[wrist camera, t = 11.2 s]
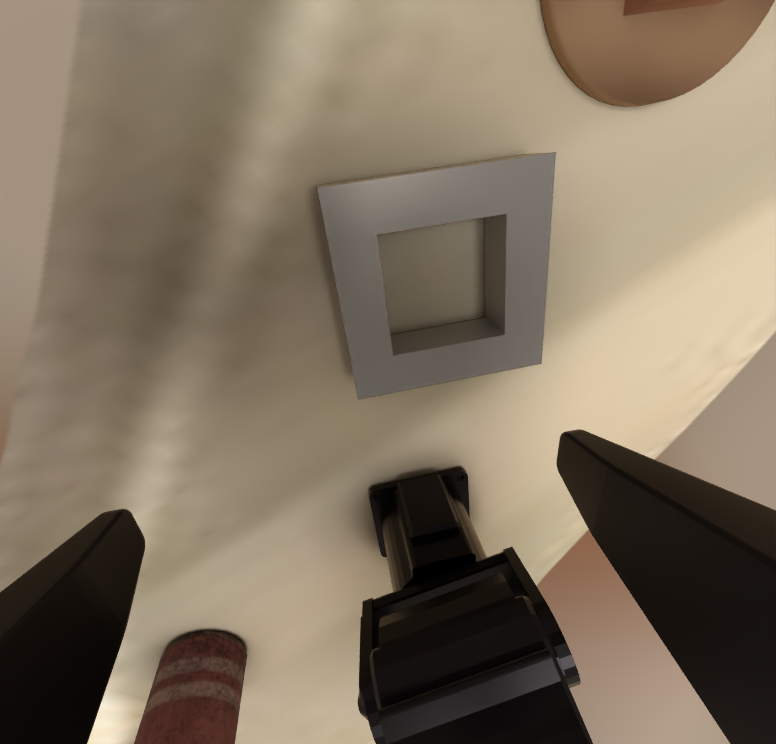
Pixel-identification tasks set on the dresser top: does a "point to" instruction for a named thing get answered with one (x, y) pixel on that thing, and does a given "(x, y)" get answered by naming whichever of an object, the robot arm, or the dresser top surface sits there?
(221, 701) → the can
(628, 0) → the block
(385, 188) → the collar
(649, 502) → the robot arm
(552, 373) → the dresser top surface
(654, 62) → the pad
